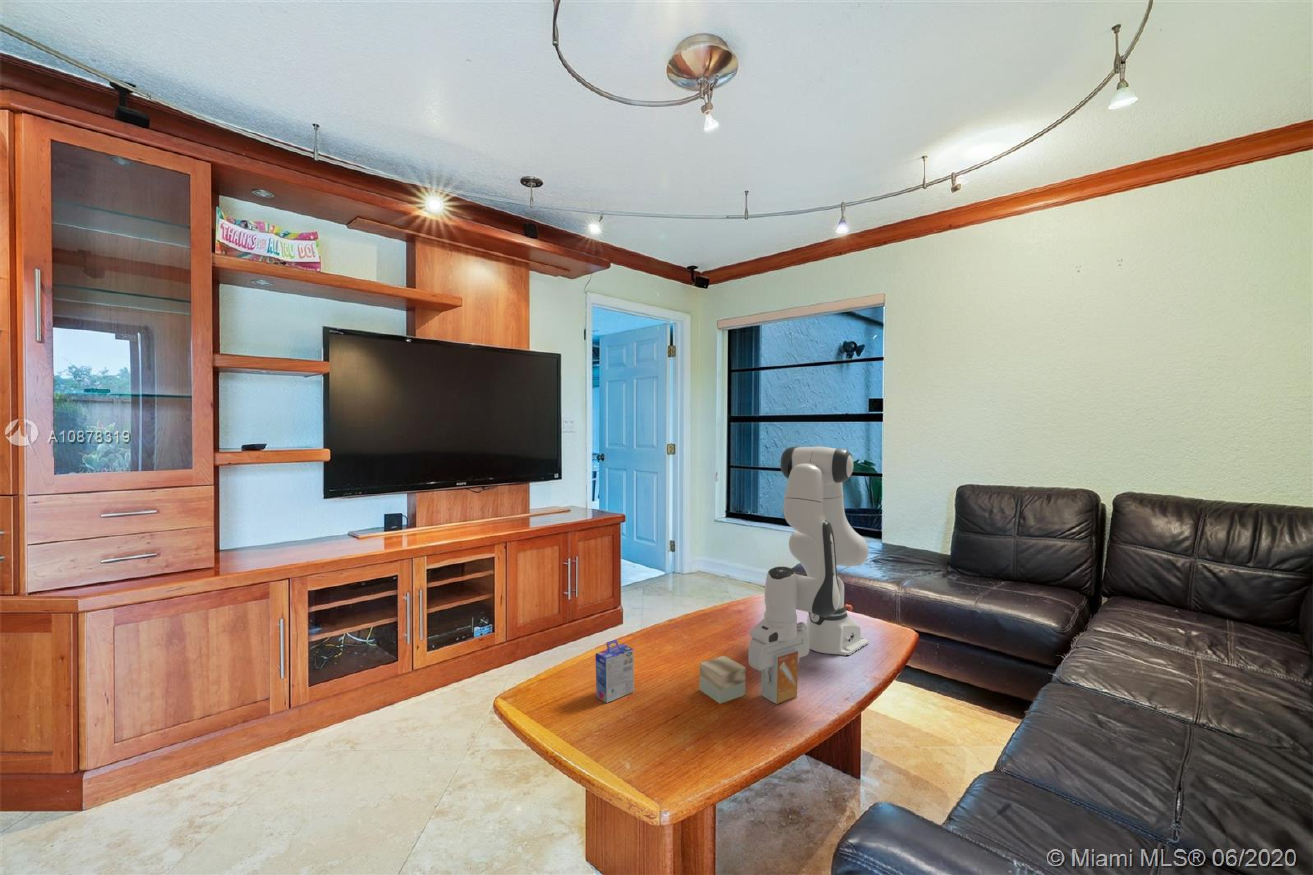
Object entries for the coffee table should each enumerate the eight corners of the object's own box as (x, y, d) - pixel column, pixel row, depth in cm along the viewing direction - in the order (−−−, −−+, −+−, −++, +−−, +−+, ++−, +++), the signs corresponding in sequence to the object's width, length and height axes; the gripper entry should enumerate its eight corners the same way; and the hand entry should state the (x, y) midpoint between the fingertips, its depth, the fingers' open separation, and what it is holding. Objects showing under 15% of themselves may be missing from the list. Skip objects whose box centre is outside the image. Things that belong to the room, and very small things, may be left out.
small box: (777, 705, 146) (777, 657, 146) (760, 695, 152) (760, 648, 151) (798, 697, 151) (798, 650, 150) (781, 687, 156) (781, 642, 156)
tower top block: (723, 669, 159) (724, 655, 159) (745, 681, 152) (745, 667, 152) (699, 677, 154) (699, 663, 154) (720, 690, 147) (720, 675, 147)
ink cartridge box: (622, 684, 157) (622, 635, 157) (635, 692, 153) (635, 640, 152) (594, 696, 150) (594, 644, 150) (606, 704, 146) (606, 650, 146)
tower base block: (724, 682, 159) (724, 669, 159) (745, 696, 152) (745, 681, 152) (699, 690, 154) (699, 677, 154) (720, 705, 147) (720, 690, 147)
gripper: (798, 617, 159) (797, 664, 159) (745, 631, 148) (744, 681, 148) (815, 624, 153) (814, 672, 154) (761, 639, 142) (760, 691, 143)
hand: (779, 677), depth 151 cm, fingers closed on small box, 8 cm apart
